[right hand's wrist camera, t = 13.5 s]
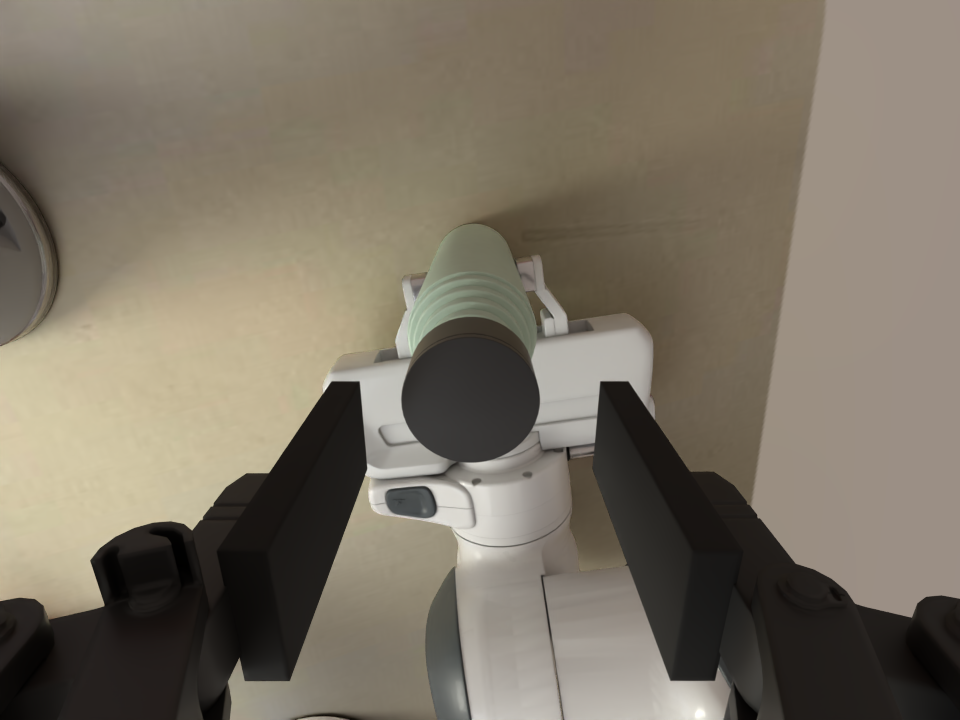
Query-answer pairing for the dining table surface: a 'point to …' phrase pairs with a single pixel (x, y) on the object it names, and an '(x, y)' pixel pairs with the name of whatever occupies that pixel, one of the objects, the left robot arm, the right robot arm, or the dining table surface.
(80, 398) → the dining table surface
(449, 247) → the bottle
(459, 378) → the cap
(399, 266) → the dining table surface
